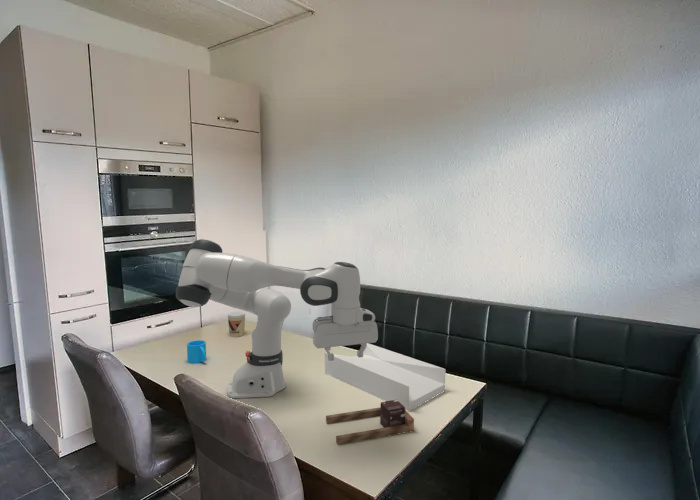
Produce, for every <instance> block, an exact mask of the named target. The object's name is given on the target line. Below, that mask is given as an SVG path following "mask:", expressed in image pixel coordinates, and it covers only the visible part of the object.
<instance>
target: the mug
mask: <svg viewBox="0 0 700 500" xmlns="http://www.w3.org/2000/svg"><path fill="white" fill-rule="evenodd" d="M186 352H187V363H189V364H192V365H193V364H201V363H204V362H206V361H207V344H206V341H205V340H200V339H198V340H197V339H196V340H191V341H189V342H186Z"/></svg>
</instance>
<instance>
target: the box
mask: <svg viewBox="0 0 700 500" xmlns="http://www.w3.org/2000/svg"><path fill="white" fill-rule="evenodd" d="M380 407H381V411H380V415H379V417H380V420H379V421H380V425H381V426H382V428H386V427H392V426H397V425H403V424H405V407H404V406H403V405H402V404H401V403H400V402H399V401H398V400H392V401H381V402H380ZM380 407H379V408H380Z"/></svg>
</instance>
